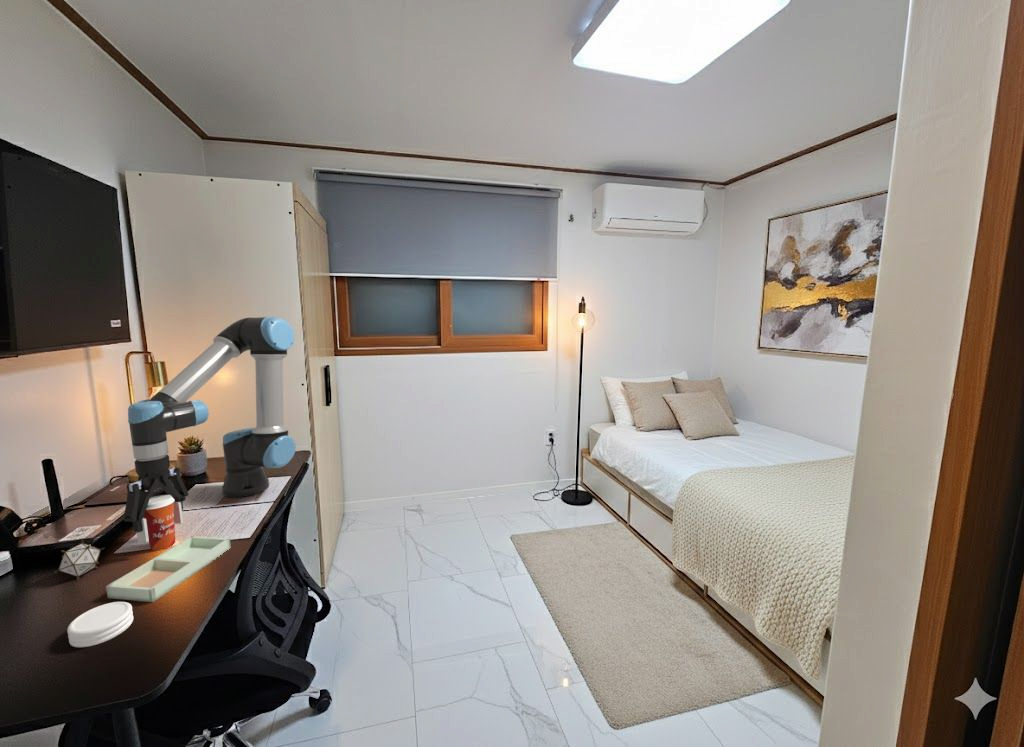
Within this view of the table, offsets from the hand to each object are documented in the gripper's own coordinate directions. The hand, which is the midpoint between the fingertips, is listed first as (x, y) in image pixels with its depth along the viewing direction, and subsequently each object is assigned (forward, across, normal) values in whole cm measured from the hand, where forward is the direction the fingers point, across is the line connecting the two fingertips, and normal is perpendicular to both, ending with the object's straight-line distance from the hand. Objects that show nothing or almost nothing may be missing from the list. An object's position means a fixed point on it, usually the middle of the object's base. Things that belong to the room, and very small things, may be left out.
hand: (161, 531), depth 126 cm
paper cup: (+4, 0, 0) cm, 4 cm away
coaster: (+5, +32, +19) cm, 38 cm away
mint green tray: (+4, +11, +15) cm, 19 cm away
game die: (+4, +15, -8) cm, 18 cm away
